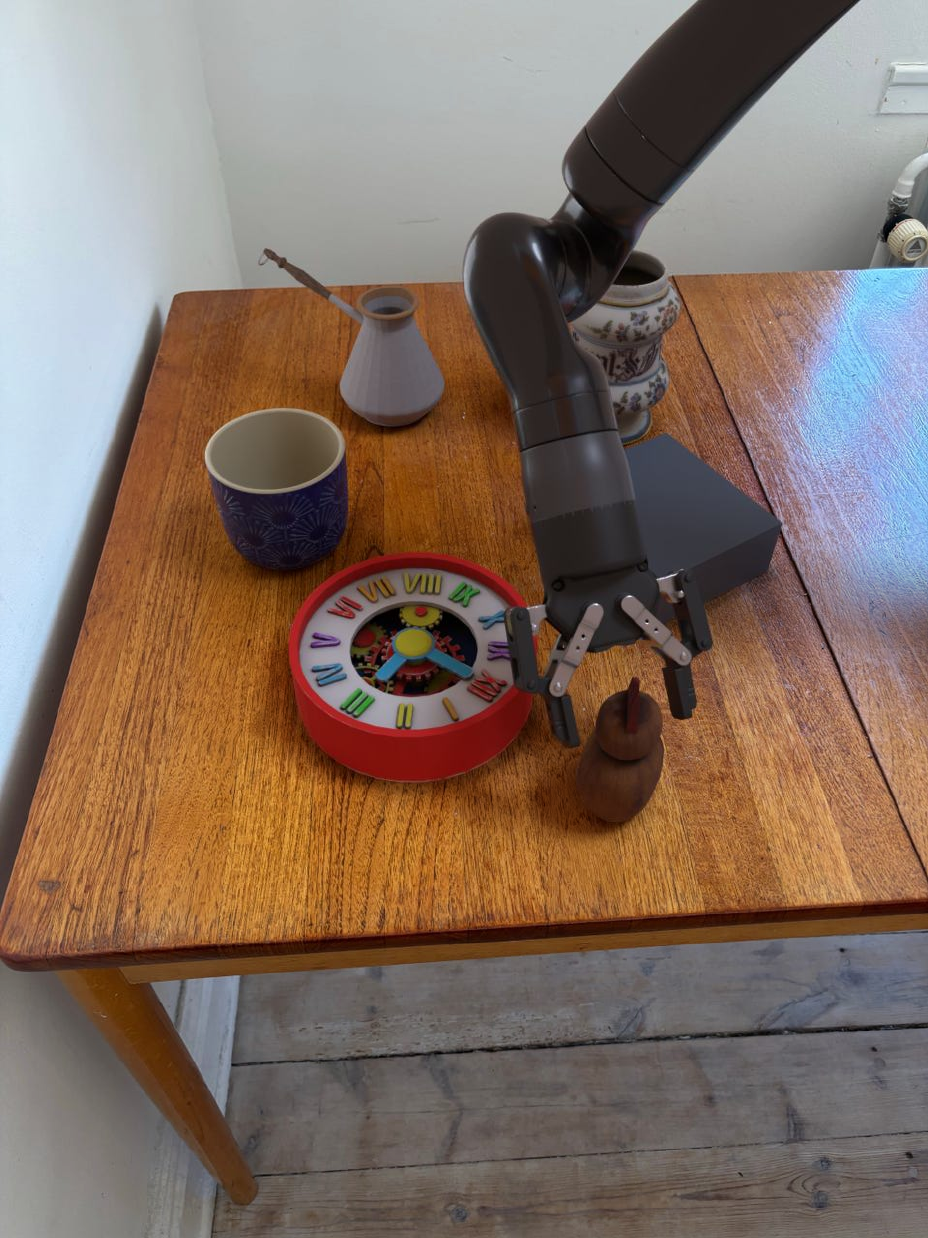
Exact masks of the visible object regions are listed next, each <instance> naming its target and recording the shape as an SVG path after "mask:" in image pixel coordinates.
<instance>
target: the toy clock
mask: <svg viewBox="0 0 928 1238" xmlns="http://www.w3.org/2000/svg"><path fill="white" fill-rule="evenodd" d="M508 607H529V606H528V604H527V603H526V601H525V599H524V598H523V597H522V595H520V593H519V592H518V591H517V590H516V588H514V586H512V585H511V584H510V583H509V582H507V581H506V579H504V578H502V576H500V575H499V574H497V573H495V572H494V571H492V570H490V569H489V568H487V567H485V566H483V565H481V564H478V563H475V562H473V561H470V560H468V559H465V558H461V557H457V556H453V555H449V554H445V553H437V552H430V551H429V552H426V551H422V552H421V551H416V552H415V551H407V552H398V553H397V552H396V553H389V554H384V555H381V556H375V557H372V558H368V559H365V560H363V561H360V562H357V563H354V564H352V565H349V566H348V567H346V568H344V569H342V570H340V571H338V572H336V573H334V574H333V575H331V576H330V577H329V578H327V579H326V580H324V581H323V582H322V583H321V584H319V585H318V586H317V587H316V588H315V589H314V590H313V591H312V593H310V594H309V596H307V597H306V598H305V600H304V601H303V603H302V605H301V606H300V608H299V610H298V611H297V612H296V615H295V617H294V619H293V622H292V624H291V627H290V632H289V637H288V644H287V645H288V659H289V666H290V671H291V677H292V682H293V690H294V693H295V701H296V706H297V709H298V712H299V715H300V718H301V721H302V724H303V726H304V728H305V729H306V731H307V732H308V735H309V736H310V738H311V740H312V741H314V743H315V744H316V745H317V746H318V747H319V748H320V749H321V750H322V751H323V752H324V753H325V754H326V755H328V756H329V757H330V758H332V759H333V760H335V762H337V763H338V764H340V765H342V766H344V767H346V768H348V769H349V770H352V771H354V772H356V773H359V774H361V775H365V776H368V777H370V778H373V779H377V780H383V781H389V782H396V783H428V782H435V781H442V780H446V779H450V778H453V777H456V776H457V777H458V776H460V775H463V774H466V773H468V772H470V771H473V770H475V769H477V768H479V767H481V766H483V765H485V764H487V763H488V762H489V761H491V760H493V759H494V758H495V757H497V756H498V755H499V754H501V753H502V752H503V751H504V750H505V749H506V748H507V747H508V746H509V745H510V744H512V743H513V741H514V740H515V739H516V738H517V736H518V734H519V733H520V732H521V730H522V729H523V727H524V726H525V724H526V722H527V719H528V717H529V714H530V712H531V710H532V706H533V705H532V704H533V700H534V694H533V693H532V694H531V693H526V692H523V691H520V690H517V689H516V688H515V687H514V683H513V677H512V670H511V663H510V657H509V650H508V643H507V637H506V630H505V623H504V616H503V614H504V611H505V610H506V609H507V608H508ZM533 641H534V647H535V654H536V660H537V658H538V657H537V656H538V646H539V645H538V634H537V635H536V636H533Z"/></svg>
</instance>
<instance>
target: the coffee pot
mask: <svg viewBox="0 0 928 1238" xmlns="http://www.w3.org/2000/svg"><path fill="white" fill-rule="evenodd" d="M264 255H265V257H266V259H265V260H264V261H263V262H261V260H262V258H263V257H264ZM269 260H270V261H274V262H275V263H276V264H277V265H276V266H277V268H278V269H284V270H285V272H287V273H288V274H289V275H290V276H291V277H292V278H294V280H295V281H297V282H298V283H299V284H302V285H303V286H305V287H306V288H307V289H308V290H311V291H313V292H314V293H315V294H317V295H319V296H320V297H322V298H324V299H325V300H326V301H329V302H331V303H332V304H333V305H335V306H336V307H337V308H339V310H342V311H343V312H344V313H346V315H348V316H349V317H350V318H352V319H353V320H355V321H356V322H357V323H359V324H360V325H361V327H360V329H359V332H358V334H357V337H356V340H355V342H354V345H353V347H352V350H351V352H350V355H349V357H348V361H347V362H346V365H345V368H344V370H343V373H342V376H341V379H340V382H339V390H340V395H341V397H342V398H343V400H344V402H345V403H346V405H347V406H348V408H349V409H350V410H351V411H353V412H354V413H355V414H356V415H358V416H359V417H361V418H363V419H365V420H366V421H367V422H369V423H371V424H374V425H377V426H382V427H392V428H393V427H403V426H407V425H410V424H413V423H416V422H417V421H419V420H420V419H421V418H423V417H425V415H427V414H428V413H429V412H431V411H432V410H433V409H434V408H435V407H436V406H437V404H438V403H439V401H440V400H441V398H442V396H443V394H444V390H445V385H446V384H445V383H446V382H445V380H444V377H443V376H444V375H443V373H442V371H441V369H440V367H439V365H438V363H437V361H436V359H435V358H434V356H433V354H432V352H431V349H430V348H429V346H428V344H427V342H426V340H425V338H424V336H423V334H422V332H421V330H420V328H419V326H418V325H417V322H416V320H415V319H414V315H415V313H416V311H417V310H418V308H419V305H420V300H419V297H418V296H417V295H416V293H415V292H413V290H411V289H410V288H408V287H406V286H402V285H401V286H400V285H383V286H377V287H372V288H370V289H367V290H365V291H364V292H362V293H361V294H360V295H359V296H358V297H357V299H356V303H355V304H356V308H357V309H356V308H354V307H353V306H352V305H349V303H346V302H345V301H344V300H342V299H341V298H339V297H338V296H336V295H335V294H333V291H330V289H328V288H327V287H326V286H325V285H322V284H321V283H320V282H319V281H318V280H316V279H315V278H314V277H313V276H311V275H310V274H309V273H308V272H306V270H304V269H301V268H300V267H297V266H296V265H294V264H292V263H290V262H288V260H287V257H285V256H282V257H281V256H279V255H277V253H276V252H275V251H273V250H272V249H271V248H267V247H266V248H264V249H263V251H262V253H261V254H260V256H259V258H258V260H257V265H259V266H264V265H265V264H266V263H267V262H268V261H269Z"/></svg>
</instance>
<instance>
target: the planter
mask: <svg viewBox="0 0 928 1238" xmlns="http://www.w3.org/2000/svg"><path fill="white" fill-rule="evenodd" d="M346 450H347V449H346V441H345V437H344V435H343V433H342V431H341V430H340V429H339V427H338V426H337V425H336V424H335V423H334V422H332V420H330V419H328V418H327V417H325V416H323V415H321V414H318V413H316V412H313V411H309V410H306V409H299V408H290V407H277V408H276V407H275V408H268V409H267V408H265V409H261V410H256V411H253V412H249V413H246V414H244V415H240V416H239V417H236V418H234V419H232V420H230V421H228V422H227V423H226V424H224V425H223V426H221V427H220V428H219V429H218V430H216V432H214V434H213V435H212V436H211V438H210V439H209V440H208V442H207V445H206V447H205V450H204V451H205V452H204V462H205V466H206V469H207V474H208V477H209V481H210V485H211V488H212V492H213V496H214V500H215V502H216V507H217V510H218V513H219V516H220V519H221V522H222V525H223V528H224V531H225V533H226V535H227V538H228V540H229V542H230V543H231V545H232V546H233V548H234V549H235V551H236V552H237V553H238V554H239V555H240V556H241V557H242V558H243V559H245V560H246V561H248V562H250V563H252V564H254V565H255V566H258V567H261V568H265V569H269V570H279V571H288V570H297V569H302V568H306V567H309V566H311V565H313V564H316V563H318V562H320V561H321V560H323V559H325V558H326V557H328V556H329V555H331V553H333V552H334V551H335V550H336V548H338V546H339V545H340V544H341V542H342V540H343V538H344V536H345V533H346V529H347V524H348V519H349V518H348V517H349V516H348V515H349V485H348V484H349V483H348V467H347V452H346Z"/></svg>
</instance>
